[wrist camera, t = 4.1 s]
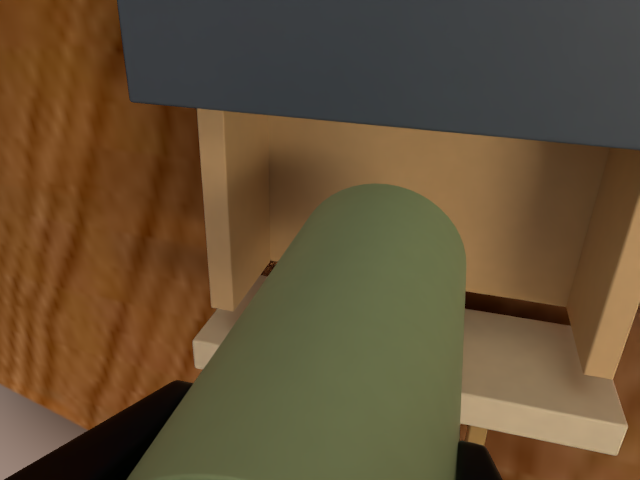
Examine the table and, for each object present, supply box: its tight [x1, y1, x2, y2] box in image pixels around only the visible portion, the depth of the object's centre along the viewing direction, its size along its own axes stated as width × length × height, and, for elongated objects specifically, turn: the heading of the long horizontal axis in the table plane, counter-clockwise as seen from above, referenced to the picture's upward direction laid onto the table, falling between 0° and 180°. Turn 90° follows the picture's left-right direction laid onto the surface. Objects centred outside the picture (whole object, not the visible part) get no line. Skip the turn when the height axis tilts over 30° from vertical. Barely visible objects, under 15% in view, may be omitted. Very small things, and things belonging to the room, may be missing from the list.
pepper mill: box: [127, 183, 467, 480], centre depth 10 cm, size 4×4×10 cm
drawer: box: [193, 109, 640, 456], centre depth 17 cm, size 18×13×5 cm
